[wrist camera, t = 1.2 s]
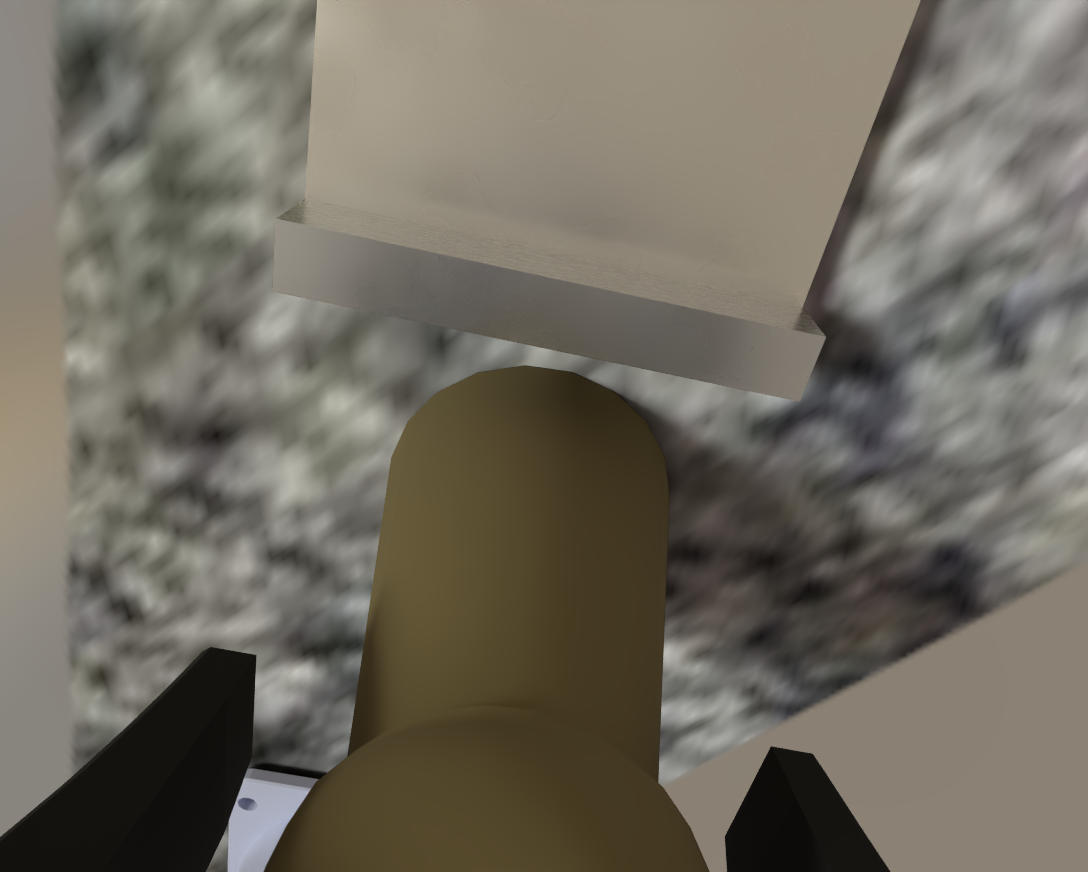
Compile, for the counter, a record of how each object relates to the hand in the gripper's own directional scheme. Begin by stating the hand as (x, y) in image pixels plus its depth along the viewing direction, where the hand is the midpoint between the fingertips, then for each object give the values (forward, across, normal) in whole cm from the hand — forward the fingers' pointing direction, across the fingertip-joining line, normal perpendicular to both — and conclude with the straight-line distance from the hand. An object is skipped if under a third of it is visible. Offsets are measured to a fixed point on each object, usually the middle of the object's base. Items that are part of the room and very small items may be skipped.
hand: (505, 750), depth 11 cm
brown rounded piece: (+7, 0, 0) cm, 7 cm away
